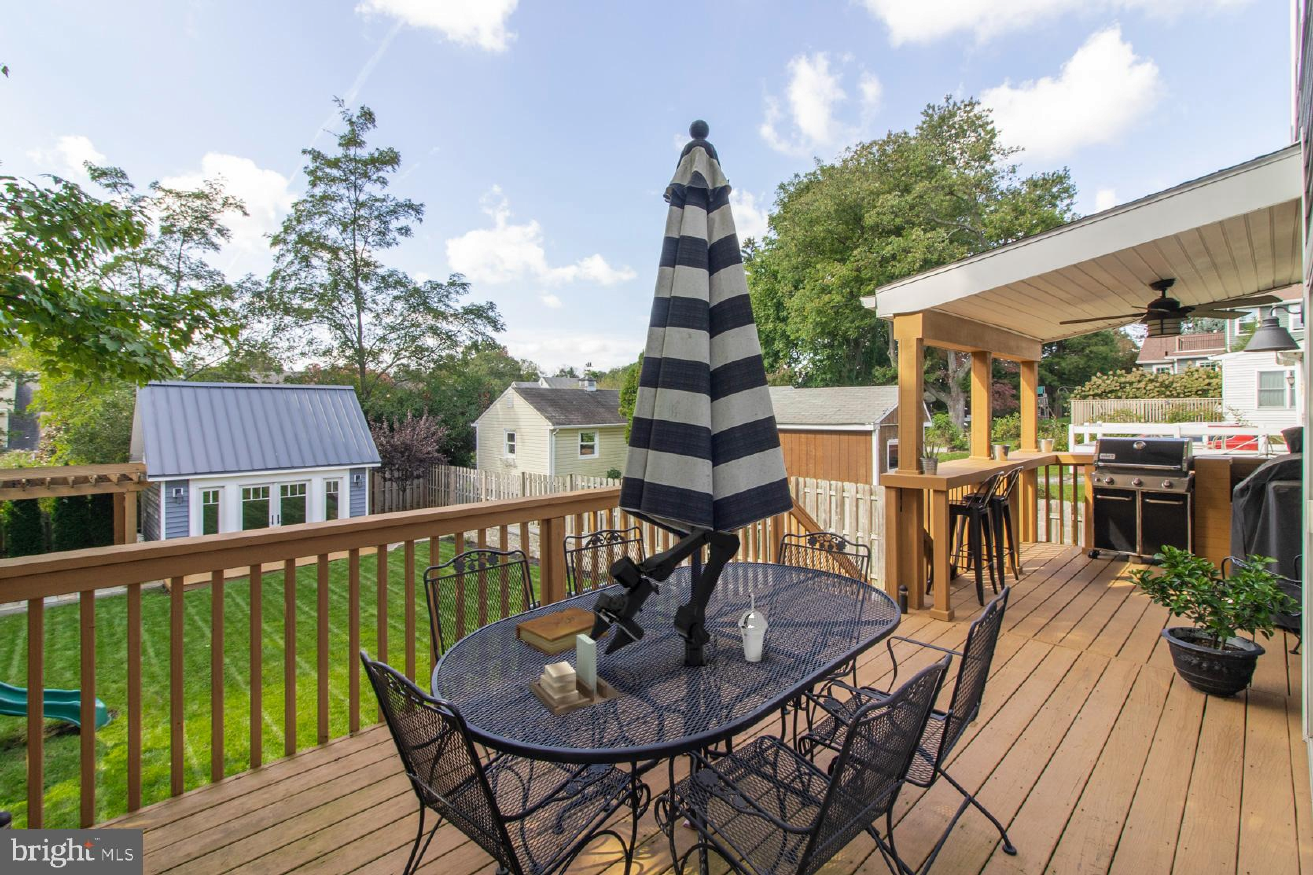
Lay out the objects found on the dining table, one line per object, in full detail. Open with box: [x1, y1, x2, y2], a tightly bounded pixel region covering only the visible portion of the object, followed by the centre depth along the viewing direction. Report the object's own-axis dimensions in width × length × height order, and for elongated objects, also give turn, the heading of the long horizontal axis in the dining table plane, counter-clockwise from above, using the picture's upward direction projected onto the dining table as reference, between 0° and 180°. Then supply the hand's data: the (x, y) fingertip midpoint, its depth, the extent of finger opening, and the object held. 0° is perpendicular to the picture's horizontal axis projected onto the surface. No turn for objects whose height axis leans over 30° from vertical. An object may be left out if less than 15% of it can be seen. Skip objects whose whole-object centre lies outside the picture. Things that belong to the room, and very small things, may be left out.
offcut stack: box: [539, 661, 578, 706], centre depth 143 cm, size 7×9×7 cm
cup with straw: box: [737, 592, 769, 663], centre depth 167 cm, size 8×9×20 cm
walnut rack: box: [529, 674, 624, 717], centre depth 146 cm, size 18×16×4 cm
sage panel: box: [576, 634, 597, 694], centre depth 147 cm, size 2×7×13 cm, turn 33°
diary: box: [515, 606, 611, 656], centre depth 185 cm, size 23×19×6 cm
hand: (597, 648), depth 149 cm, fingers open, 9 cm apart
